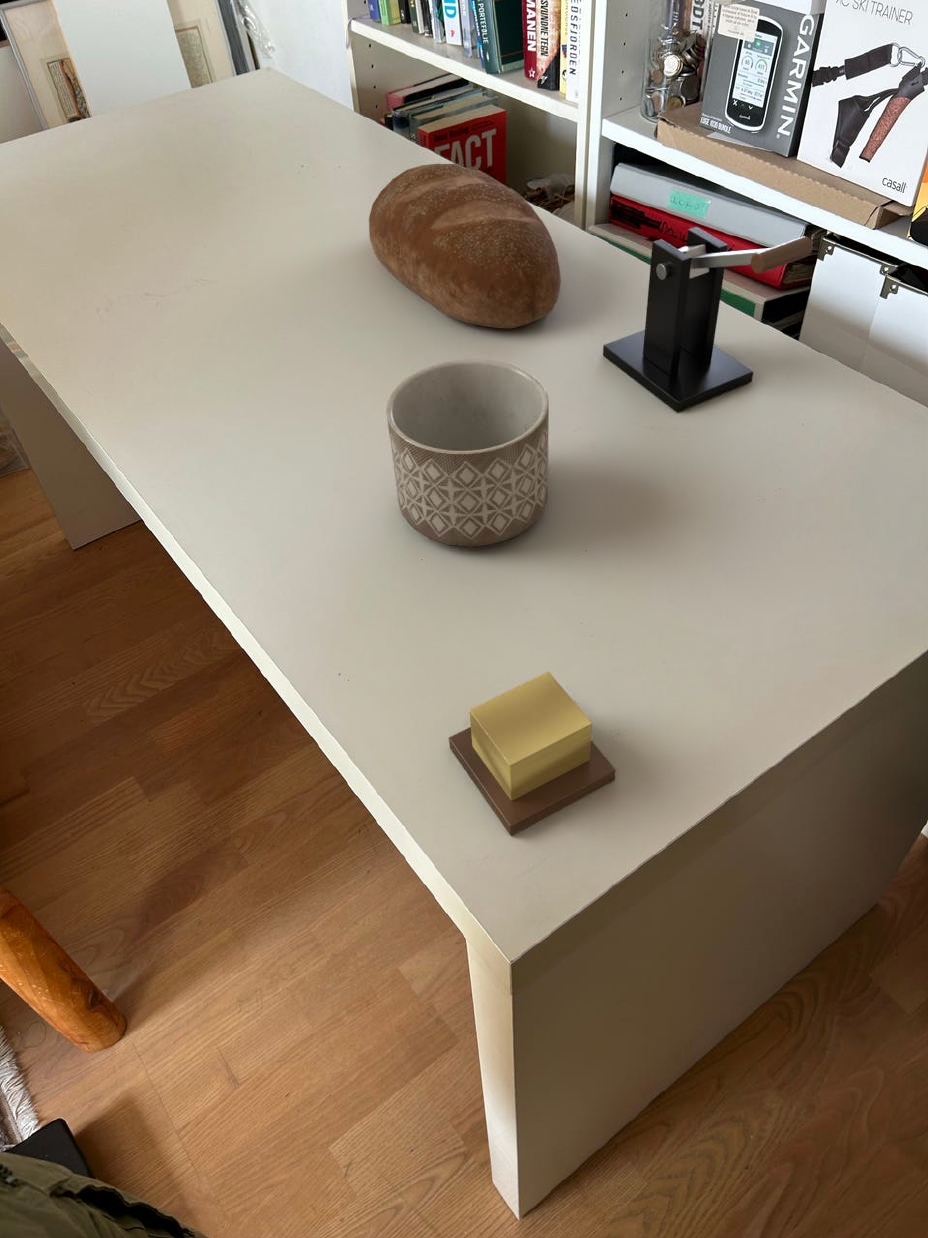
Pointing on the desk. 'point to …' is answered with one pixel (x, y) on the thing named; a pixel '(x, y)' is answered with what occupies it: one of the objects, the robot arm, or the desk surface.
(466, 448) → the planter
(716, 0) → the robot arm
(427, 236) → the bread
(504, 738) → the butter
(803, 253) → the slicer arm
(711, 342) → the slicer
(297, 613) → the desk surface
